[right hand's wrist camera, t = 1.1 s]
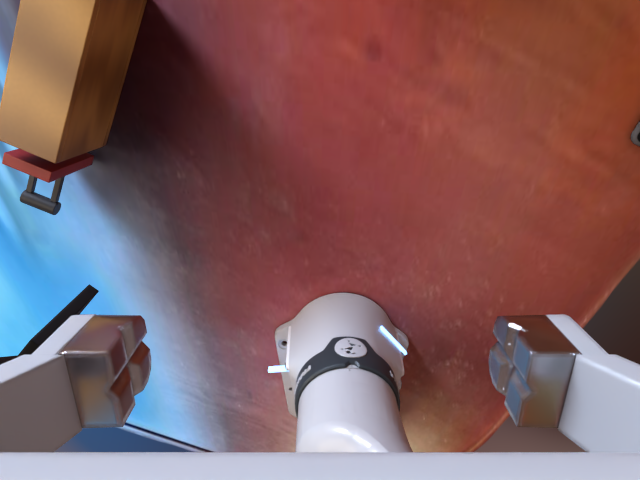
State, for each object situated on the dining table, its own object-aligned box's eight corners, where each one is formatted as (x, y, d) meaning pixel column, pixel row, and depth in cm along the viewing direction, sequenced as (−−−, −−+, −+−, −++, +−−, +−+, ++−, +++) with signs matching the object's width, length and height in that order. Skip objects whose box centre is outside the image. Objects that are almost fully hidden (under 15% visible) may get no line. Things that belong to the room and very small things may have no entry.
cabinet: (106, 145, 53) (55, 164, 43) (57, 124, 52) (-7, 138, 42) (148, -6, 47) (102, -26, 37) (94, -32, 46) (31, -60, 36)
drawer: (80, 204, 55) (37, 229, 46) (43, 189, 54) (-8, 211, 46) (130, 27, 47) (89, 18, 39) (87, 6, 47) (36, -7, 38)
